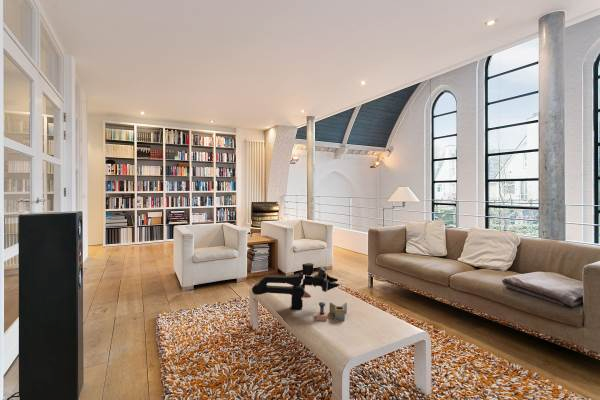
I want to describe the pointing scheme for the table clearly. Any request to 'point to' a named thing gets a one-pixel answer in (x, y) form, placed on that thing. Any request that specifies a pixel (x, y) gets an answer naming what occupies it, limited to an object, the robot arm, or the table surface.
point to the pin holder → (321, 316)
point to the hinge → (338, 311)
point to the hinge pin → (321, 308)
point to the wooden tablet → (305, 294)
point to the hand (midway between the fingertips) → (338, 282)
